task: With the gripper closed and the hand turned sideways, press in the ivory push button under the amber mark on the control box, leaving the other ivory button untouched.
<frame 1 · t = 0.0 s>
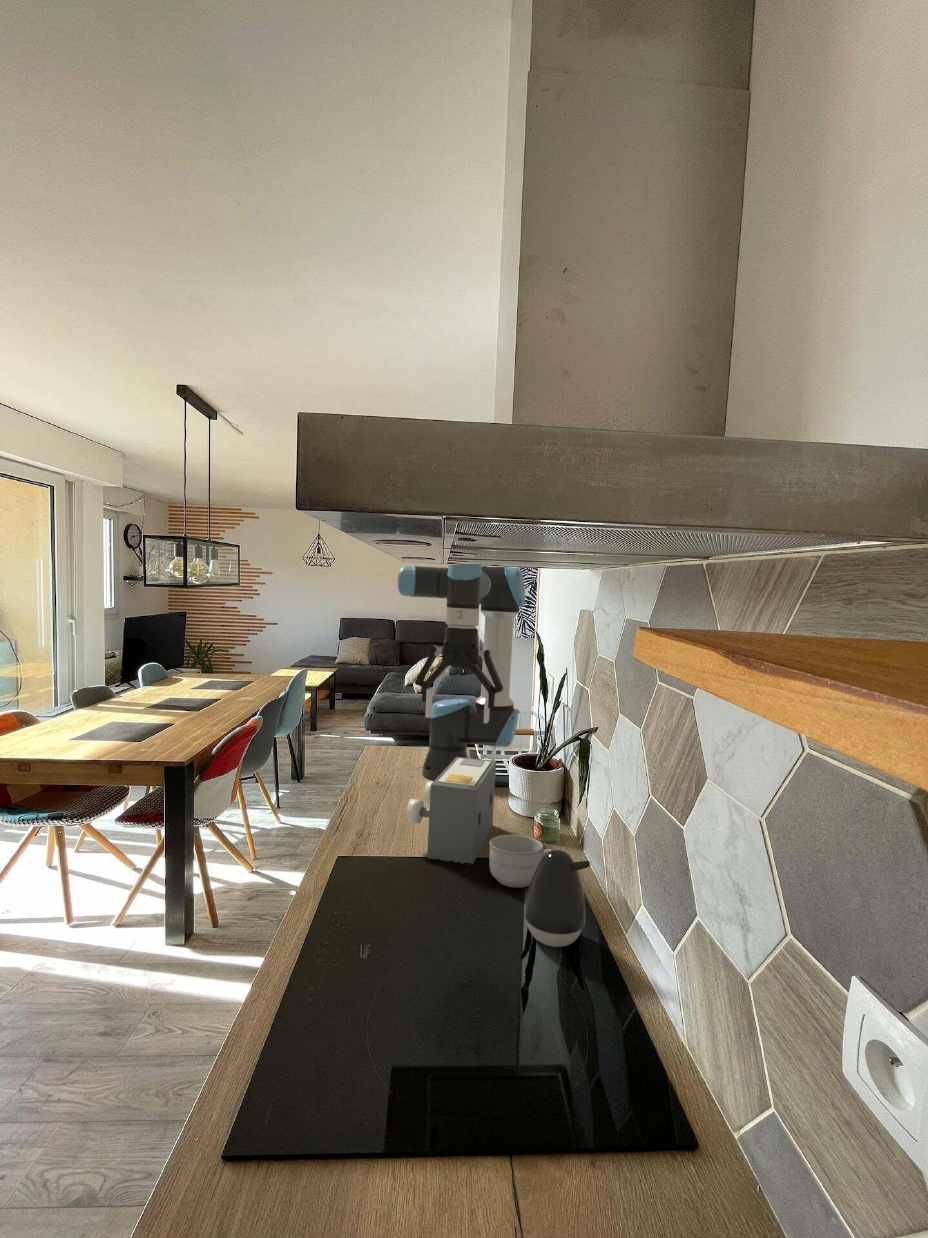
hand: (457, 719, 149), 28 cm above the table, tool pointing down, fingers open, 13 cm apart
teacup: (521, 884, 130), on the table
control box: (462, 840, 150), on the table
pump dispenser: (553, 940, 110), on the table
marked button: (426, 812, 144), point 8 cm above the table, slide at 0.0 cm
unmarked button: (441, 793, 158), point 8 cm above the table, slide at 0.0 cm
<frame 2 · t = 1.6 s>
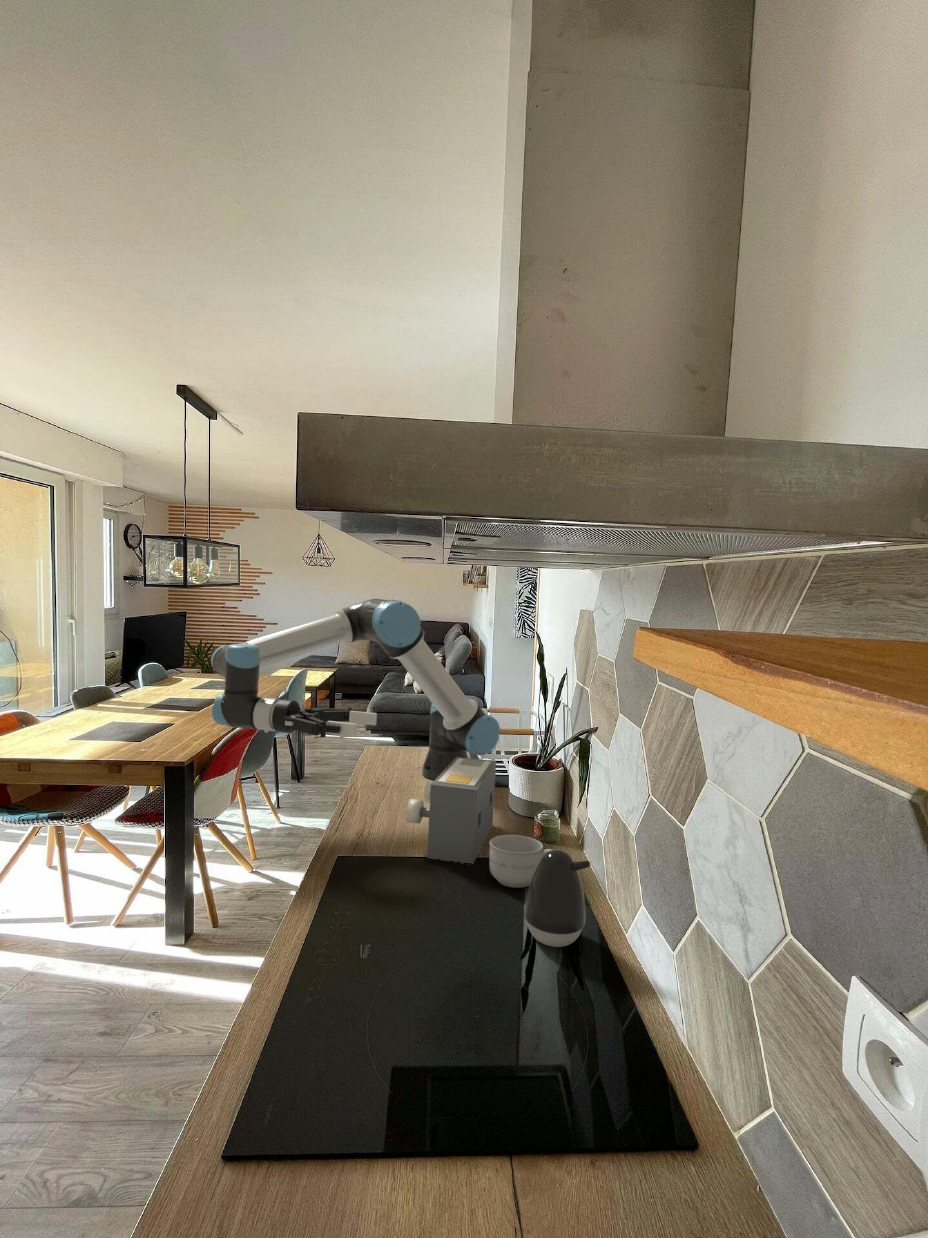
hand: (366, 724, 147), 26 cm above the table, tool horizontal, fingers open, 12 cm apart
nothing on the table moved.
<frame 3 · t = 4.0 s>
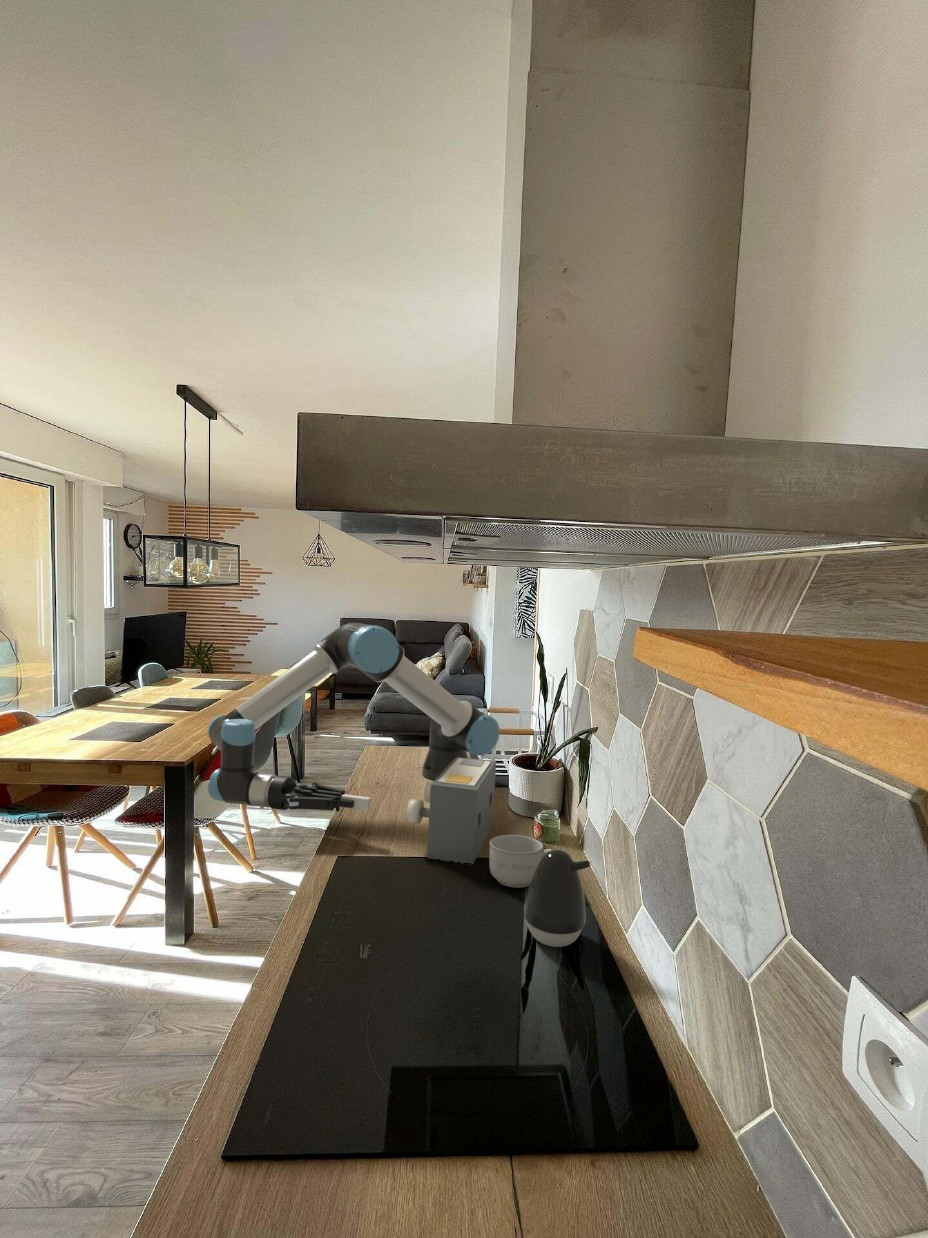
hand: (369, 804, 147), 8 cm above the table, tool horizontal, fingers closed
nothing on the table moved.
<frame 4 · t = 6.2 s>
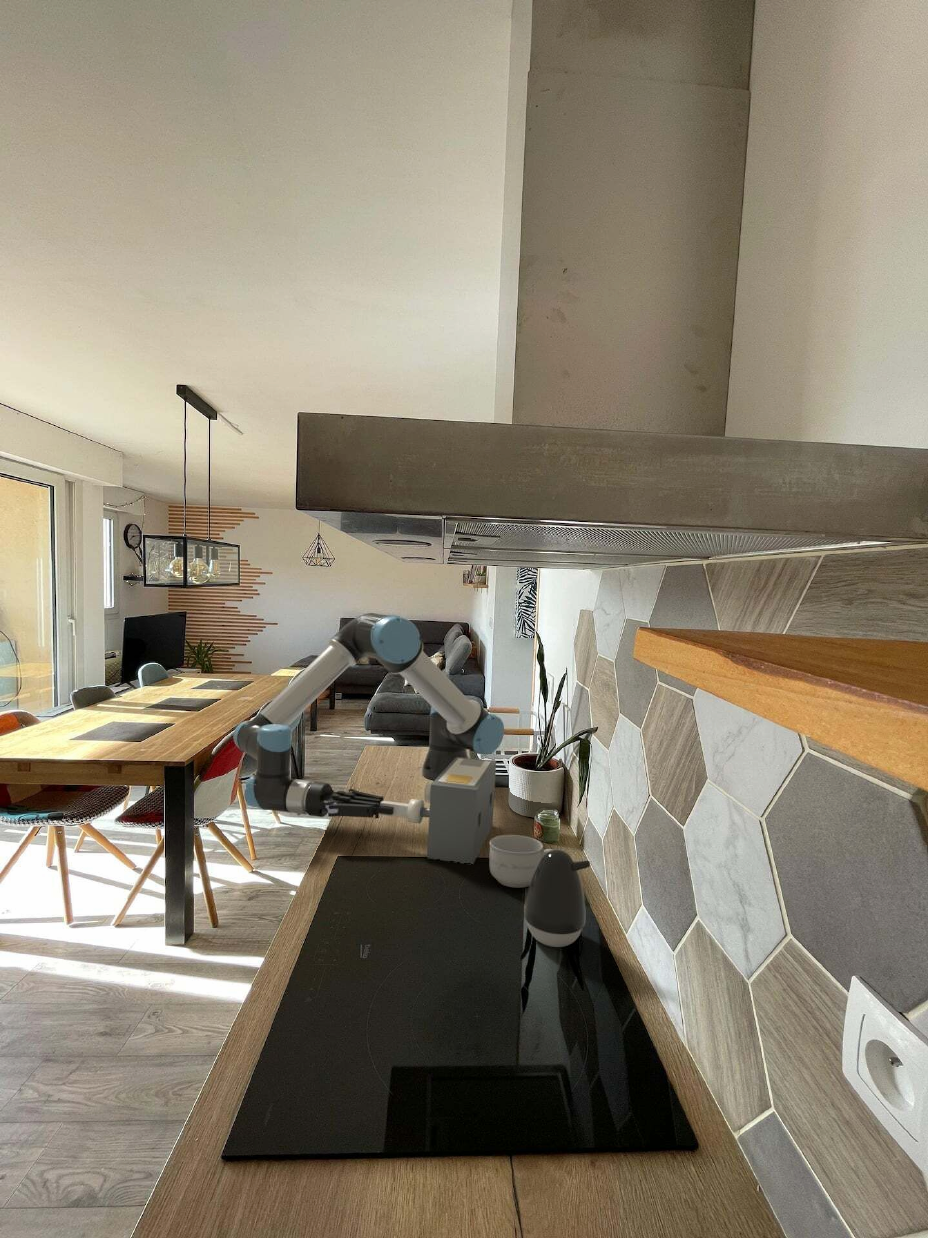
hand: (408, 811, 145), 8 cm above the table, tool horizontal, fingers closed
marked button: (426, 812, 144), point 8 cm above the table, slide at 0.1 cm, touching gripper
everything else where it was.
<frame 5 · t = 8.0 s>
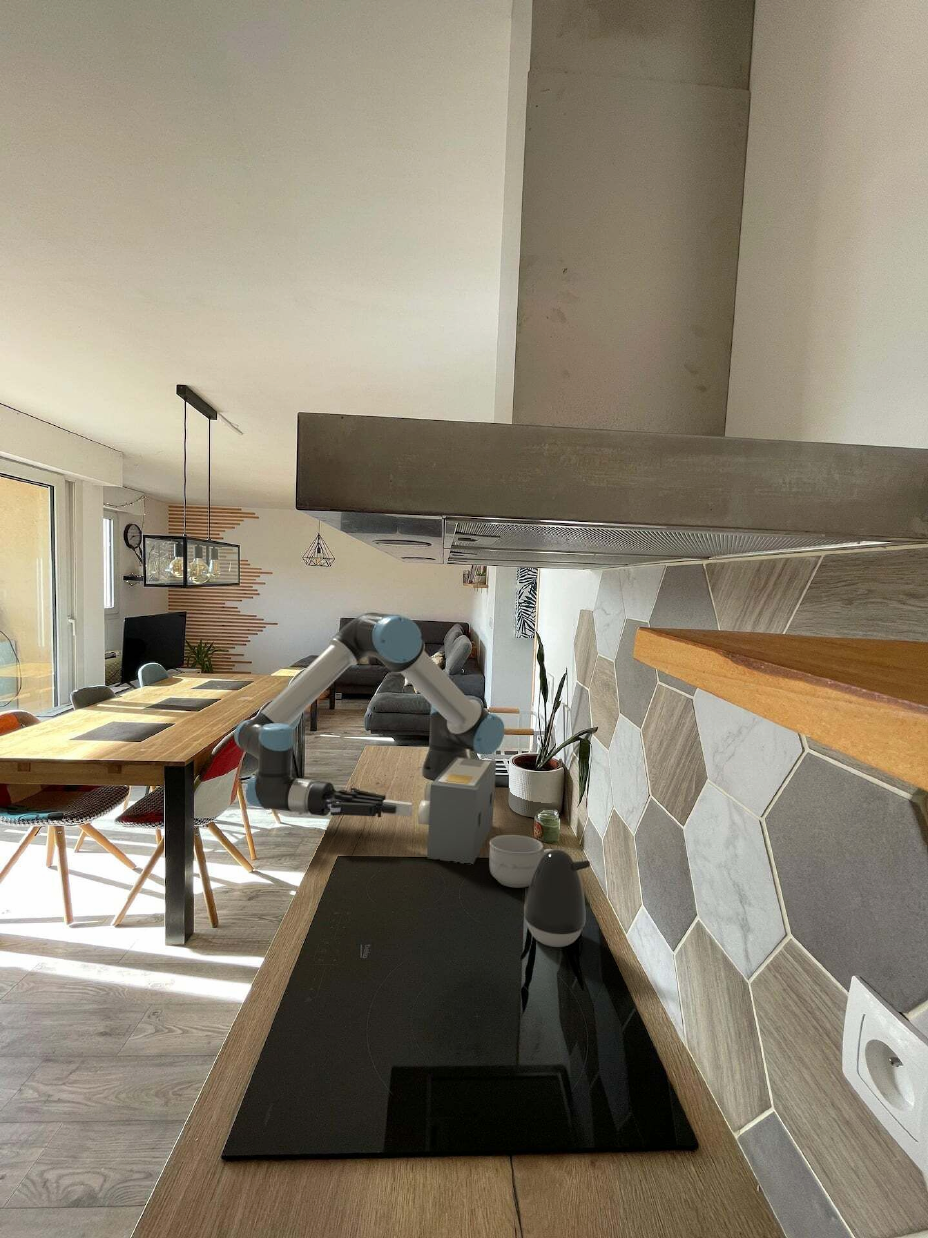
hand: (411, 810, 145), 8 cm above the table, tool horizontal, fingers closed
marked button: (437, 814, 144), point 8 cm above the table, slide at 2.6 cm
everything else where it was.
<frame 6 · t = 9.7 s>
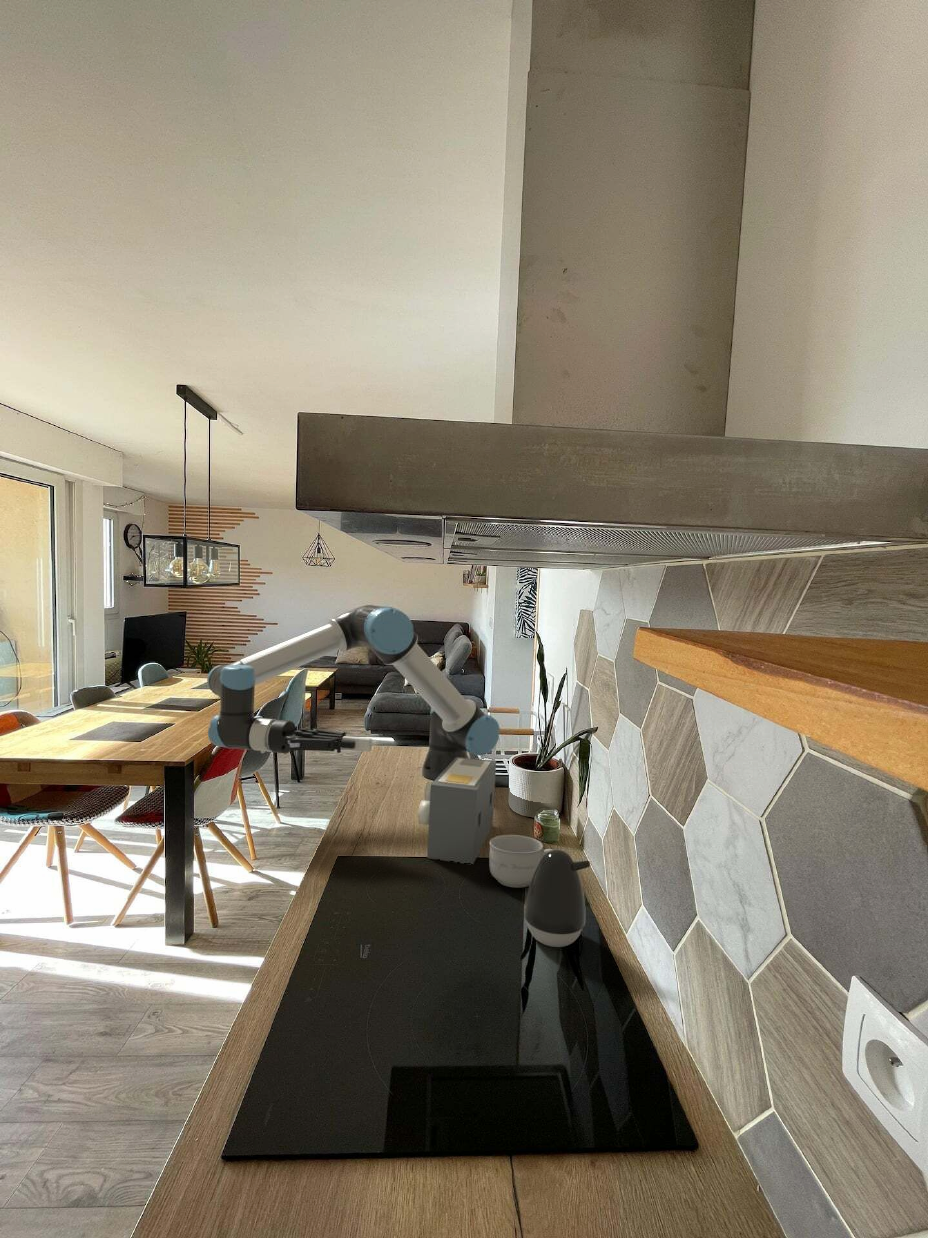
hand: (370, 745, 146), 22 cm above the table, tool horizontal, fingers closed
nothing on the table moved.
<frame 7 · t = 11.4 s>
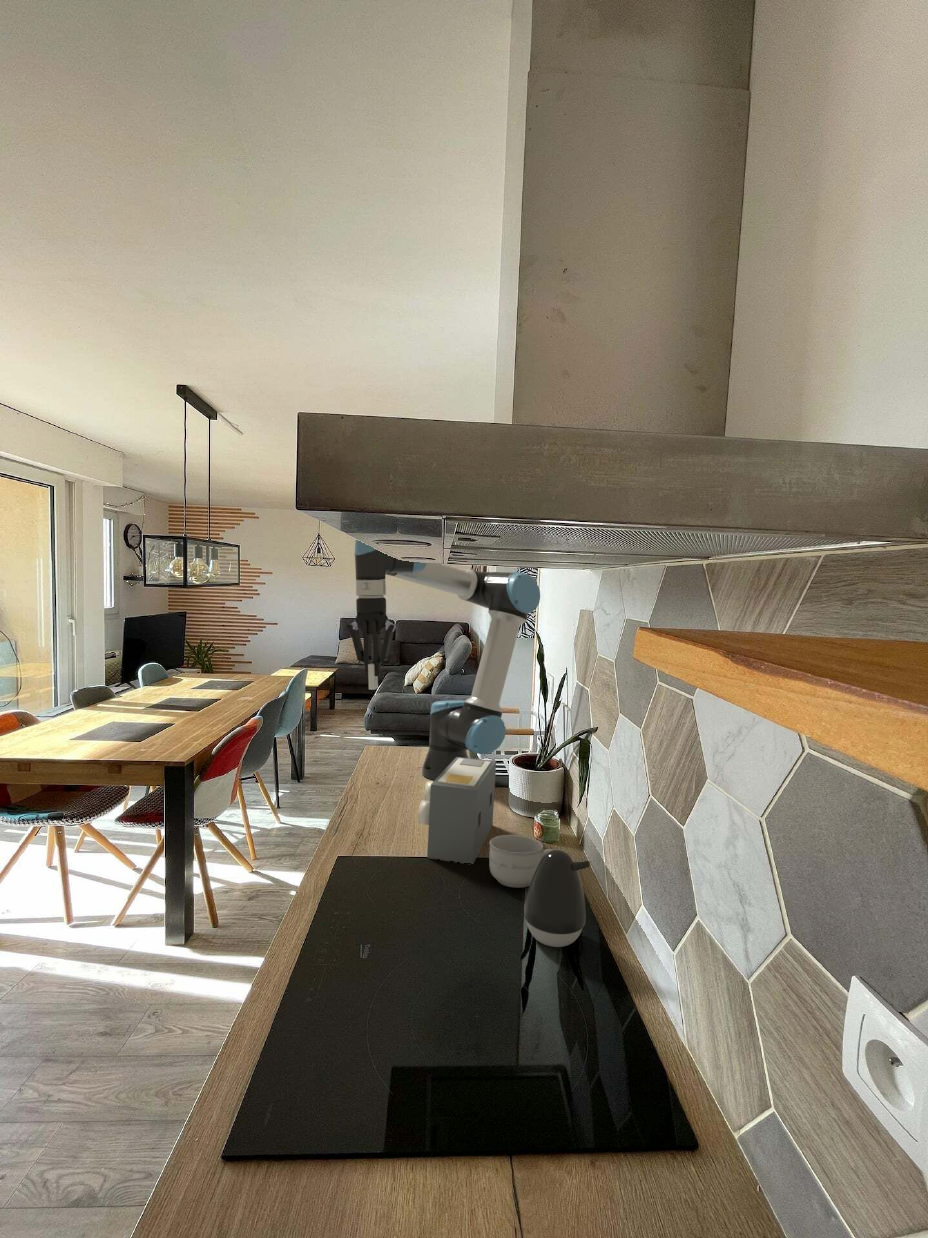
hand: (373, 688, 167), 31 cm above the table, tool pointing down, fingers closed
nothing on the table moved.
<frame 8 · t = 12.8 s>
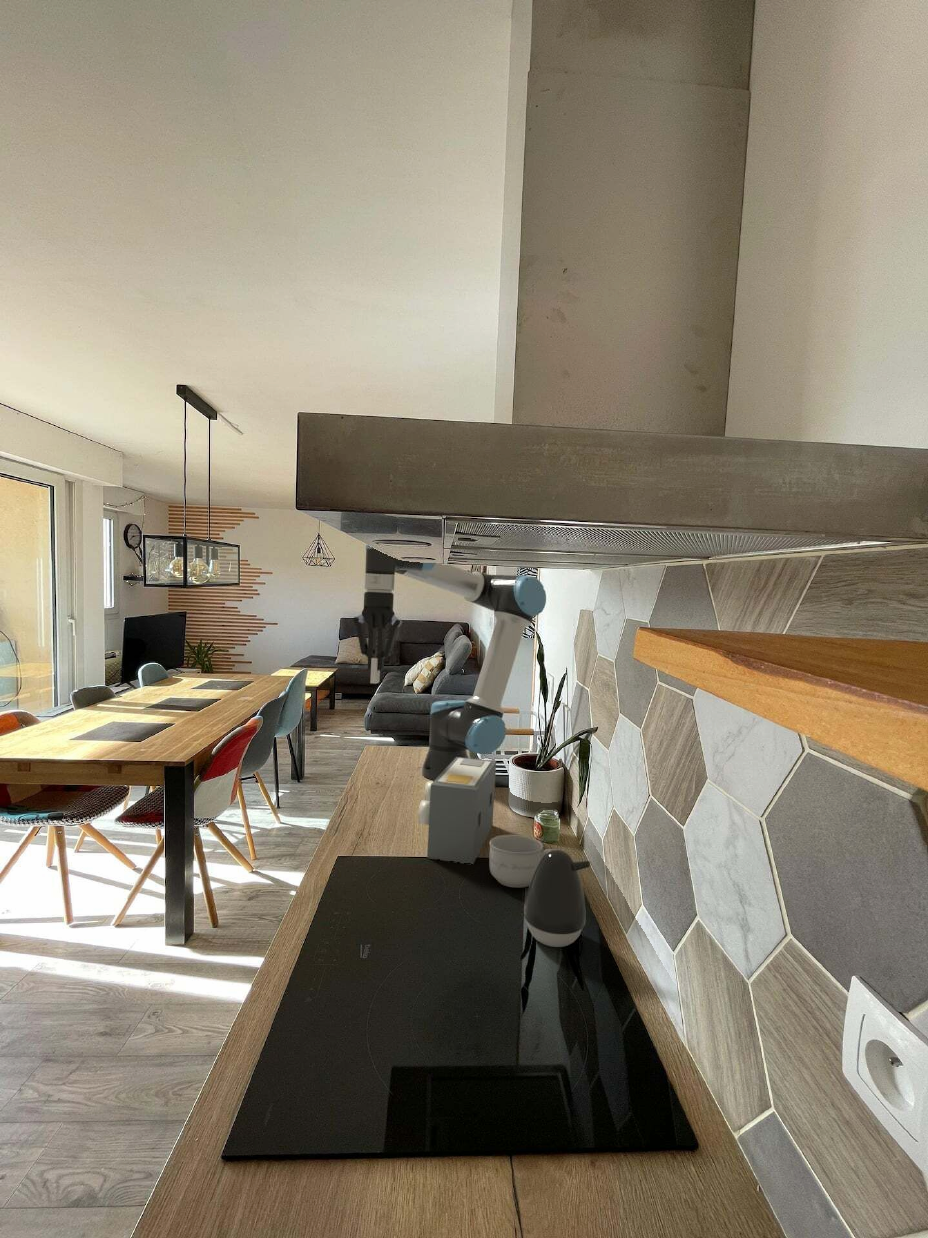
hand: (374, 682, 168), 32 cm above the table, tool pointing down, fingers closed
nothing on the table moved.
at the end: marked button slide at 2.6 cm; unmarked button slide at 0.0 cm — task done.
